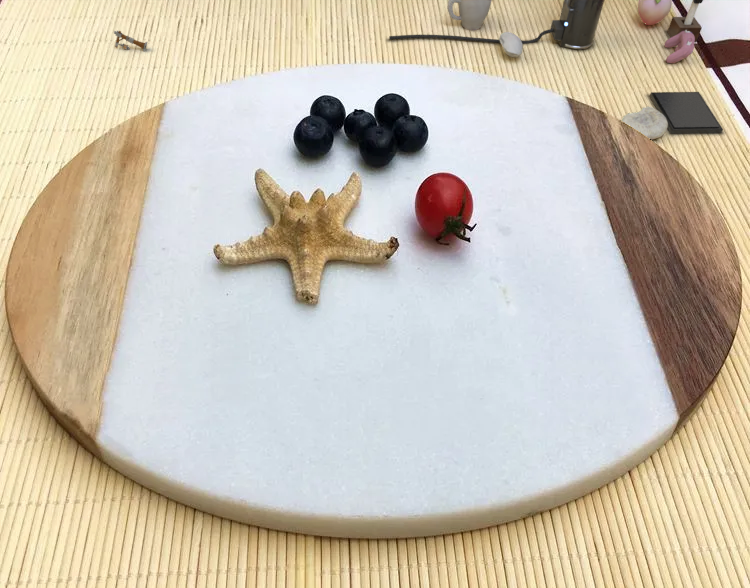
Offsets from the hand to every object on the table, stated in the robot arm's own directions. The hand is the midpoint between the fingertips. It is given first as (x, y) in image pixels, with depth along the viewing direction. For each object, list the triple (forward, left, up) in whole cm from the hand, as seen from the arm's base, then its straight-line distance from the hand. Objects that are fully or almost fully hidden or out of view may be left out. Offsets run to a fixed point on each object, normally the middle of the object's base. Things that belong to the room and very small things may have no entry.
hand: (695, 0), depth 175 cm
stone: (-49, -9, -10) cm, 51 cm away
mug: (-58, +7, -10) cm, 59 cm away
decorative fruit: (-7, +7, -10) cm, 14 cm away
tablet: (-12, -37, -10) cm, 40 cm away
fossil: (-24, -43, -10) cm, 50 cm away
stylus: (0, 0, -8) cm, 8 cm away
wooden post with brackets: (-146, -5, -10) cm, 146 cm away
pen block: (0, 0, -10) cm, 10 cm away
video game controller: (-5, -10, -10) cm, 15 cm away
